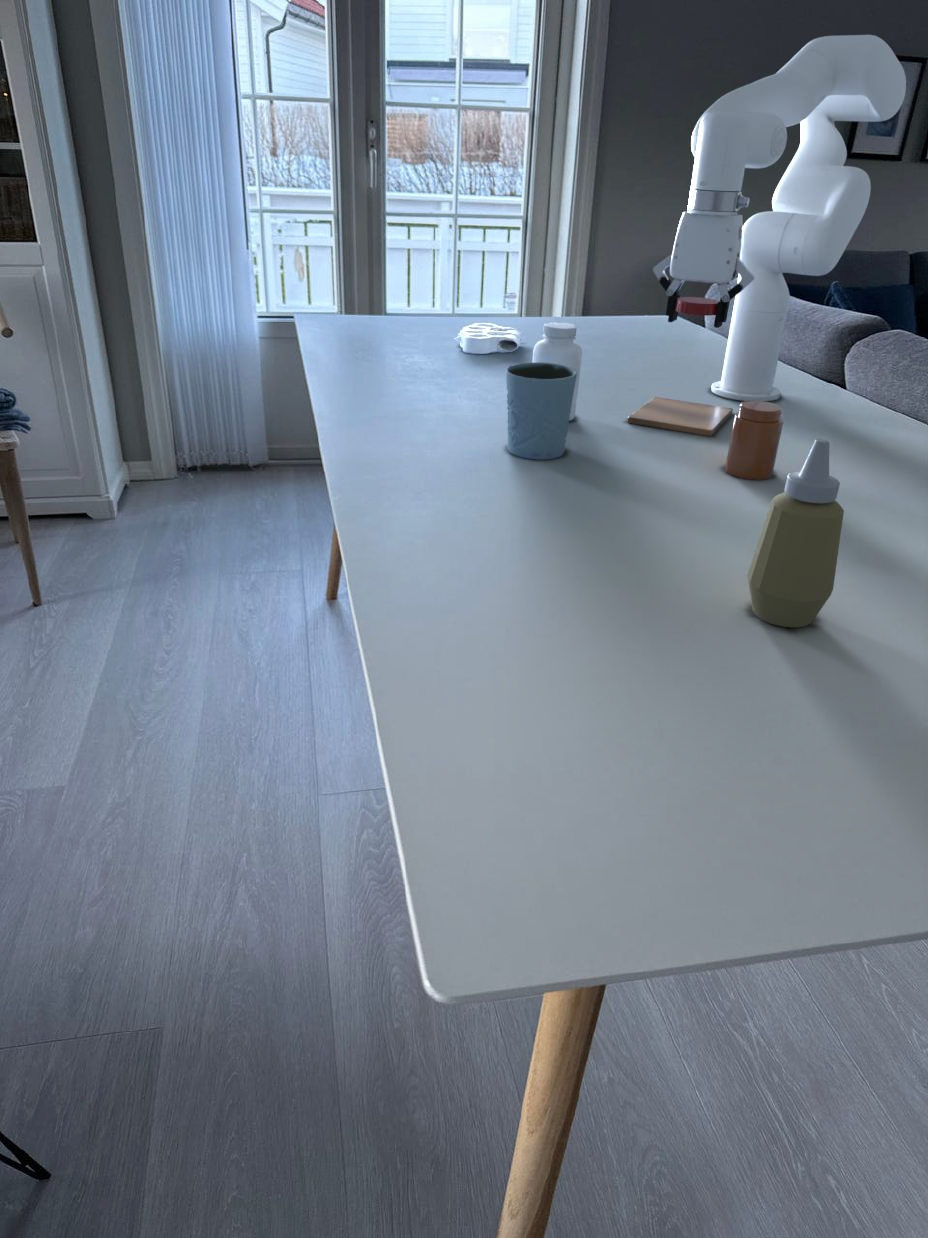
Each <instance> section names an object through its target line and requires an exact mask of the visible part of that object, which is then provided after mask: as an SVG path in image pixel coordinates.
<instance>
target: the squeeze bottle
mask: <svg viewBox="0 0 928 1238" xmlns="http://www.w3.org/2000/svg"><path fill="white" fill-rule="evenodd" d="M786 477H787V478H786V481H785V485H784V492H782V493H781V492H780V493H779V494H777V495H775V496H774V497H773V498H772V500H771V502H770V505H769V508H768V511H767V515H766V518H765V521H764V522H763V523H764V524H763V525H762V529H761V532H760V534H759V535H760V536H759V539H758V542H757V545H756V548H755V551H754V555H753V557H752V560H751V563H750V566H749V570H748V573H747V576H746V577H747V581H748V582H747V584H748V589H749V597H750V602H751V609H752V612H753V614H754V616H756V617H757V618H759V619H760V620H762V621H764V622H766V623H769V624H771V625H775V626H779V627H785V628H801V627H802V628H803V627H806V626H809V625H811V624H812V623H813V621H814V620H816V619H815V618H817V616H818V614H819V613H820V611H821V610H822V609H823V607H824V606H825V604H826V603H827V602H828V600H829V598H830V597H831V595H832V593H833V591H834V586H835V579H836V573H837V564H838V557H839V549H840V541H841V536H842V529H843V528H842V527H843V521H844V513H845V510H844V508H843V507H842V506H841V504H840V503H839V502H838V501H837V497H838V493H839V488H840V485H841V482H840V481H839V479H837V478H836V477H834V476H833V475H830V440H828V439H826V438H816V439H814V442H813V445H812V446H811V449H810V451H809V453H808V455H807V457H806V460H805V461H804V464H803V466H802V468H801V470H796V471H792V472H790V473H788V475H787V476H786Z"/></svg>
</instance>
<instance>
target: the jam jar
mask: <svg viewBox="0 0 928 1238" xmlns="http://www.w3.org/2000/svg"><path fill="white" fill-rule="evenodd" d="M738 407H739V411H738V412H736V413H735V414H734V418H733V423H732V424H733V425H732V429H731V434H730V440H729V445H728V451H727V456H726V463H725V467H724V470H725V473H727V474H728V475H731V476H733V477H736V478H741V479H744V480H756V481H760V480H767V479H770V478H772V476H773V474H774V469H775V464H776V459H777V455H778V450H779V446H780V445H779V444H780V440H781V436H782V430H783V425H784V418H783V417H782V414H783V407H782V406H780V405H779V404H777V403H773V402H770V401H766V402H763V401H742V402H741V403H740V404H739V406H738Z"/></svg>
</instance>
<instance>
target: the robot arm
mask: <svg viewBox="0 0 928 1238" xmlns="http://www.w3.org/2000/svg"><path fill="white" fill-rule="evenodd" d="M906 92H907V77H906V72H905V69H904V67H903V65H902V63H901V62H900V60H899V59H898V57H897V56H896V54H895V53H894V51H893V49H892V48H891V46H889V44H888V43H887V42H886V41H885V40H884V39H882V38H880V37H879V36H877V35H874V34H848V35H846V34H845V35H827V36H826V35H825V36H821V37H817V38H813V39H812V40H810V41H809V42H807V43H806V44H805V45H804V46H803V47H802V48H801V49H800V50H799V51H798V52H796V53H795V54H794V55H793V56H792V57H791V58H790V60H789V61H788V62H786V63H785V64H784V65H783V66H782V67H781V68H780V69H779V70H777V72H776V73H773V74H771V75H768V76H765V77H762V78H760V79H758V80H755V81H753V82H751V83H748V84H745V85H743V86H740V87H738V88H735V89H733V90H732V91H729V92H727V93H725V94H724V95H722V96H720V97H719V98H718V99H717V100H716V101H714V103H712V104H711V105H710V106H709V107H708V108H707V109H706V110H705V111H704V112H703V114H702V115H701V116H700V117H699V119H698V121H697V122H696V124H695V126H694V129H693V131H692V135H691V140H690V147H691V152H692V155H693V157H694V164H693V169H692V176H691V177H692V178H691V185H690V190H689V198H688V205H687V211H683V212H682V215H681V217H680V220H679V224H678V227H677V231H676V235H675V239H674V243H673V248H672V253H670V254H669V255H668V256H666V257H665V258H664V259H662V260H661V261H659V262H658V263H657V264H656V265H654V266H653V267H652V271H653V274H654V275H655V277H656V278H657V280H658V282H659V284H660V285H661V287H662V288H663V290H664V291H665V293H666V295H667V296H668V297H667V303H666V310H665V316H667V317H668V318H667V323H673V322H675V321H677V320H678V316H679V315H678V314H679V312H676V311H675V304H676V300H677V298H680V297H681V295H680V294H679V293H680V290H681V288H682V286H683V285H684V283H685V282H687V281H688V282H696V283H704V284H705V283H707V284H714V285H715V284H716V285H717V288H718V291H719V295H720V298H719V300H718V301H719V302H718V303H717V309H716V315H714V322H713V327H714V328H716V329H719V328H721V327H722V326H723V323H726V322H727V319H728V315H729V314H728V313H729V309H730V308H729V307H730V302H731V300H732V299H734V303H733V309H732V315H731V320H730V326H729V332H728V338H727V344H726V350H725V356H724V361H723V366H722V367H723V368H722V373H721V380H718V381H715V382H713V383H711V388H710V390H711V392H712V393H713V394H715V395H717V396H718V397H722V398H726V399H729V400H734V401H735V400H736V401H742V402H746V401H763V402H772V401H776V400H779V398H780V397H781V390H780V389H779V388H778V387H776V386H774V383H775V378H776V373H777V367H778V362H779V357H780V352H781V347H782V342H783V336H784V332H785V328H786V327H785V326H786V321H787V316H788V311H789V307H790V299H791V297H790V290H789V287H788V284H787V282H786V280H785V277H784V274H794V275H800V276H801V275H802V276H811V277H821V276H825V275H828V274H829V273H830V272H831V271H833V269H834V268H835V267H836V266H837V264H838V263H839V261H840V259H841V257H842V256H843V254H844V252H845V250H846V248H847V247H848V245H849V243H850V242H851V239H852V238H853V236H854V234H855V232H856V230H857V229H858V226H860V223H861V222H862V219H863V217H864V215H865V213H866V210H867V209H868V204H869V201H870V198H871V190H872V188H871V187H872V185H871V178H870V176H869V174H868V173H867V172H866V171H865V170H864V169H862V168H860V167H857V166H849V165H844V164H845V163H846V161H847V157H848V150H847V146H846V144H845V141H844V138H843V136H842V134H841V133H840V132H839V130H838V129H837V127H836V125H835V122H866V123H867V122H871V123H873V122H877V123H878V122H885V121H887V120H890V119H892V118H893V117H894V116H895V115H896V114H897V113H898V112H899V110H900V109H901V107H902V105H903V103H904V100H905V96H906ZM798 124H800V143H799V146H798V148H797V150H796V152H795V154H794V156H793V158H792V160H791V161H790V163H789V164H788V166H787V168H786V170H785V172H784V173H783V175H782V177H781V179H780V180H779V182H778V184H777V186H776V187H775V191H774V193H773V196H772V200H771V205H772V206H771V207H772V211H770V210H769V211H768V210H767V211H761V212H757V213H755V214H753V215H752V216H750V217H749V218H748V219H747V220H746V221H745V222H744V221H743V214H738V212H739V211H740V209H742V208H748V207H749V206H750V205H749V204H750V197H747V196H746V197H745V196H744V195H743V192H742V187H743V182H744V176H745V169H764V168H767V167H770V166H772V165H774V164H775V163H776V162H778V160H779V159H780V158H781V157H782V155H783V153H784V152H785V149H786V146H787V141H788V132H787V128H789V127H793V126H795V125H798ZM743 222H744V224H743ZM668 267H669V275H670V276H671V277H672V278H673V280H671V278H670V277H669V276H668V275H667V273H666V269H667V268H668ZM736 278H737V284H735V285H734V286H733V287H731V284H730V282H731V281H735V279H736Z"/></svg>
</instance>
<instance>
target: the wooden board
mask: <svg viewBox="0 0 928 1238" xmlns="http://www.w3.org/2000/svg"><path fill="white" fill-rule="evenodd" d="M733 410H734V409H733V408H731V407H725V406H718V405H713V404H705V403H699V402H692V401H687V400H686V401H685V400H679V399H673V398H667V397H661V396H654V397H653V398H651V400H649V401H647V402H646V403H644V404H643V405H642V406H641V407H640V408H638V409H637V410H636V411H635V412H632V414H630V415H629V416H628V417H627V423H628V424H635V425H638V426H639V425H640V426H646V427H653V428H659V429H663V430H669V431H676V432H681V433H688V434H694V435H701V436H706V437H712V436H713V435H714V434H715V433H716V432H717V430H718V429H719V428H720V427H721V426H722V425H723V424H724V423H725V422H726V421H727V420H728V419H729V417H731V416H732V415H733Z"/></svg>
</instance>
